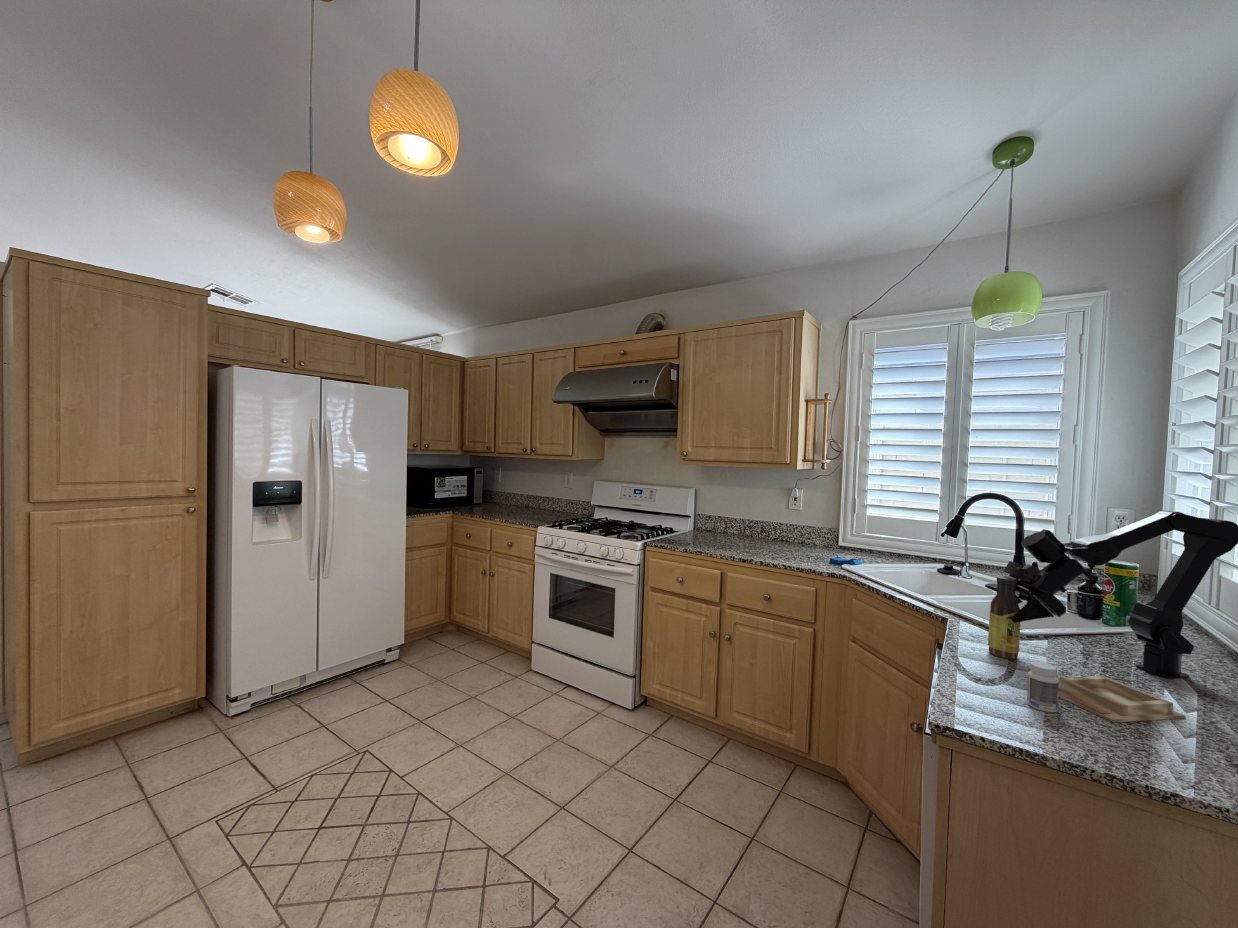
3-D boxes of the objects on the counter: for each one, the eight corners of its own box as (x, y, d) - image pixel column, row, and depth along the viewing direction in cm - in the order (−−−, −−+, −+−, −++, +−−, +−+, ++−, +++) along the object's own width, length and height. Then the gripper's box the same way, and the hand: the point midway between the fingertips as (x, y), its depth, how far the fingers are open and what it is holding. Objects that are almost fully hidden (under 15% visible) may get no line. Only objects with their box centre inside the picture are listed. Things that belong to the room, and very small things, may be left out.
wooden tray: (1103, 684, 108) (1103, 673, 108) (1185, 717, 94) (1186, 705, 94) (1038, 687, 105) (1038, 676, 105) (1113, 722, 91) (1113, 709, 91)
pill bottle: (1064, 714, 94) (1065, 671, 94) (1036, 711, 95) (1037, 668, 95) (1047, 702, 99) (1049, 661, 98) (1021, 699, 99) (1022, 659, 99)
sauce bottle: (1011, 661, 119) (1014, 582, 119) (982, 652, 125) (985, 576, 125) (1024, 657, 122) (1027, 579, 122) (995, 648, 128) (998, 574, 128)
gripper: (1008, 546, 131) (961, 582, 134) (1053, 559, 113) (997, 601, 116) (1041, 577, 130) (992, 613, 132) (1091, 595, 111) (1034, 637, 114)
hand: (1002, 615), depth 124 cm, fingers open, 9 cm apart
